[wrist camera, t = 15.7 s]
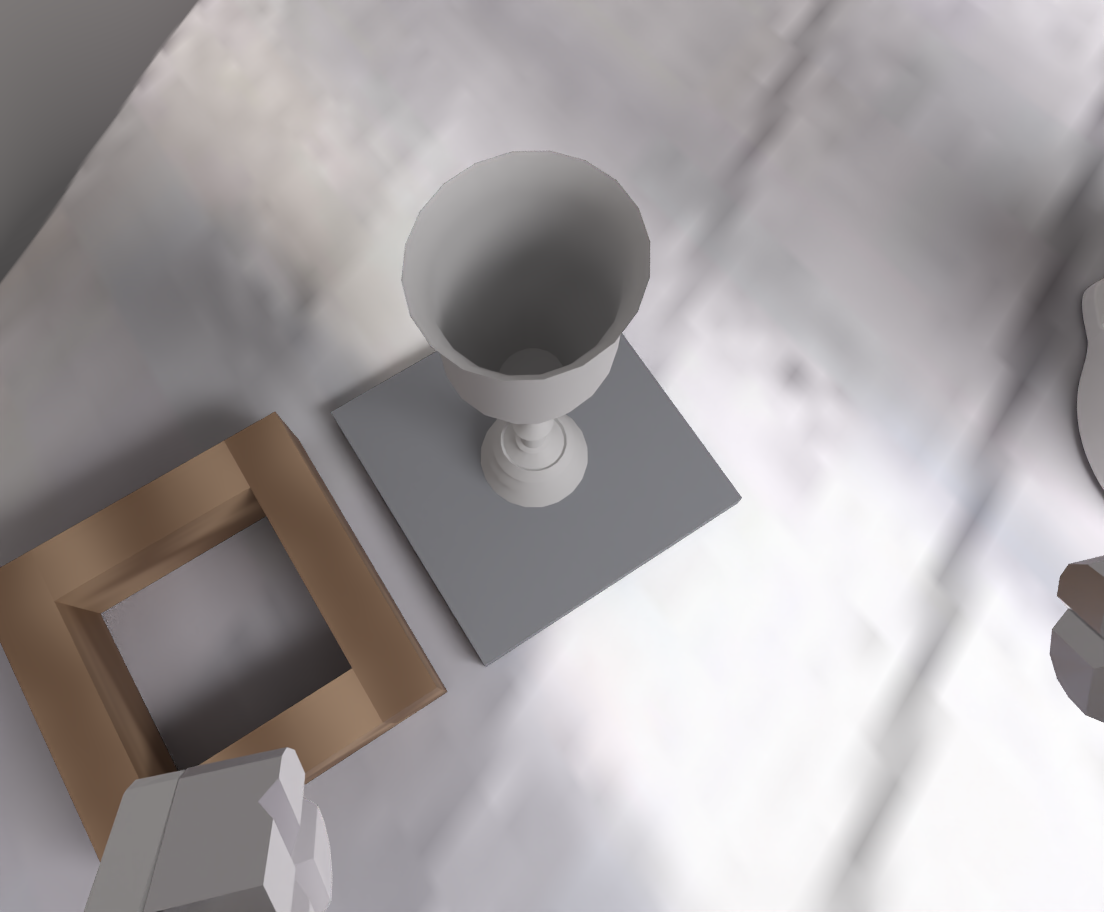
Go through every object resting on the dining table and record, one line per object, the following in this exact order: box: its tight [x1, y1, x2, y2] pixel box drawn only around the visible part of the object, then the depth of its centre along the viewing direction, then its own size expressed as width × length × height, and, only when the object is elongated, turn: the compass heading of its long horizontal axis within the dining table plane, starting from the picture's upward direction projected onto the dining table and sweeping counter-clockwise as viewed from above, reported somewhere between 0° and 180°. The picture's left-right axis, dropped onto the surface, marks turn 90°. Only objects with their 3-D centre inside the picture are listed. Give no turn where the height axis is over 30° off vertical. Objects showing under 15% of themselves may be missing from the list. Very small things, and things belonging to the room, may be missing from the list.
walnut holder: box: [0, 412, 447, 862], centre depth 38 cm, size 14×14×4 cm
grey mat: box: [331, 333, 742, 667], centre depth 42 cm, size 14×14×1 cm
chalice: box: [402, 151, 650, 507], centre depth 33 cm, size 7×7×18 cm
